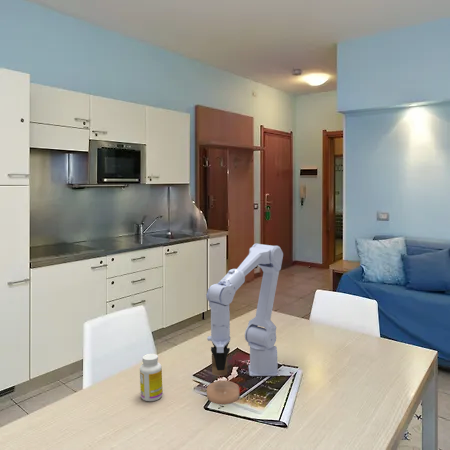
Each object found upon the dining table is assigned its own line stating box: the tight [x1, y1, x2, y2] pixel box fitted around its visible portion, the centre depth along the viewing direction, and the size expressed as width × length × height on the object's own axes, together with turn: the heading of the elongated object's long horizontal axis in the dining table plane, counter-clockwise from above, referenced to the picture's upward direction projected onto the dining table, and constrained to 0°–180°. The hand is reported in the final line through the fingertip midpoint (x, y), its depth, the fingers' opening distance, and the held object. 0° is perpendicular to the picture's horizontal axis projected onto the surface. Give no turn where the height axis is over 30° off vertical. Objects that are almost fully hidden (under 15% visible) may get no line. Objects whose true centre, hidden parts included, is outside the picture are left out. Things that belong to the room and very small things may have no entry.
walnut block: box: [211, 353, 228, 376], centre depth 129 cm, size 4×4×6 cm
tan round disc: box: [206, 380, 240, 405], centre depth 129 cm, size 10×10×2 cm
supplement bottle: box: [139, 353, 163, 402], centre depth 129 cm, size 7×7×13 cm
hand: (220, 365), depth 130 cm, fingers closed on walnut block, 4 cm apart
